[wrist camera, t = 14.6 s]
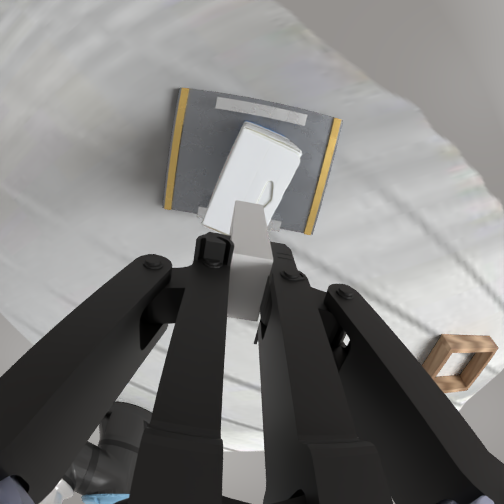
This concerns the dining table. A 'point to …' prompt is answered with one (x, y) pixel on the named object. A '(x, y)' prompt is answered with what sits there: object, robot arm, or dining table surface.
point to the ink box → (252, 175)
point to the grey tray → (222, 139)
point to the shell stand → (459, 345)
